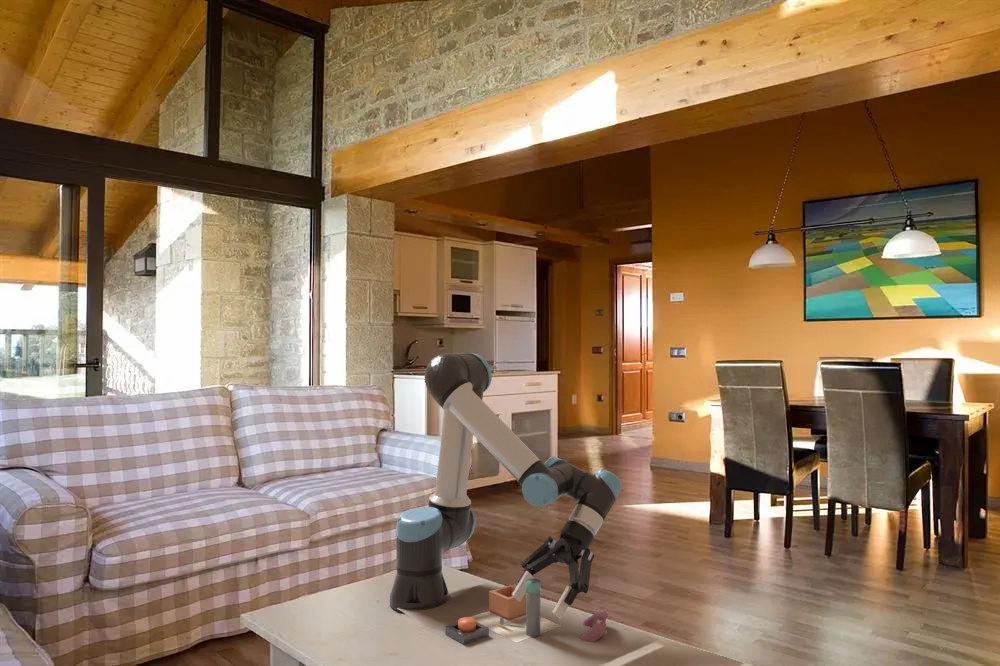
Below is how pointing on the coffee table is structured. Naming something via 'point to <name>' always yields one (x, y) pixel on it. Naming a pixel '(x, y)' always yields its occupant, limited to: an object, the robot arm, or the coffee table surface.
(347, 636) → the coffee table surface
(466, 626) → the button
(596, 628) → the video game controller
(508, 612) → the pen cup
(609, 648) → the coffee table surface
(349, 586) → the coffee table surface
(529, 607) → the marker
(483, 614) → the board
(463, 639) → the button housing
